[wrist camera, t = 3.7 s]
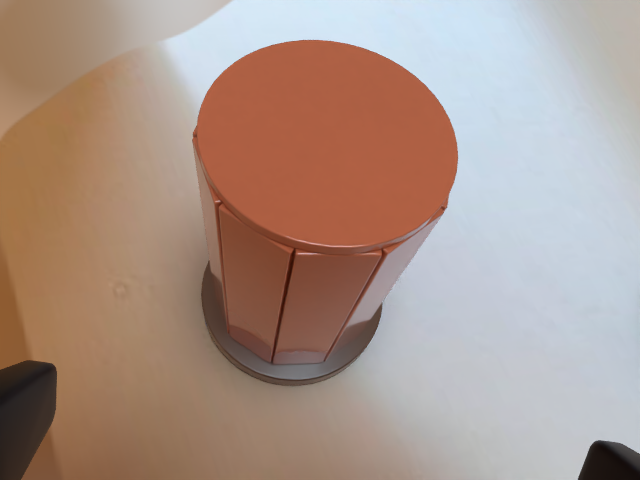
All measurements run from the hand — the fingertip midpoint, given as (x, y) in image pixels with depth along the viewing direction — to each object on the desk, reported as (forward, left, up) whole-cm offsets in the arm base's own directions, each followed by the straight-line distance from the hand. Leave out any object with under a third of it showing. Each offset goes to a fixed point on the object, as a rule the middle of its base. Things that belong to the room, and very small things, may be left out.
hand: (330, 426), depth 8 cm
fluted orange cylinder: (+3, +7, -12) cm, 15 cm away
